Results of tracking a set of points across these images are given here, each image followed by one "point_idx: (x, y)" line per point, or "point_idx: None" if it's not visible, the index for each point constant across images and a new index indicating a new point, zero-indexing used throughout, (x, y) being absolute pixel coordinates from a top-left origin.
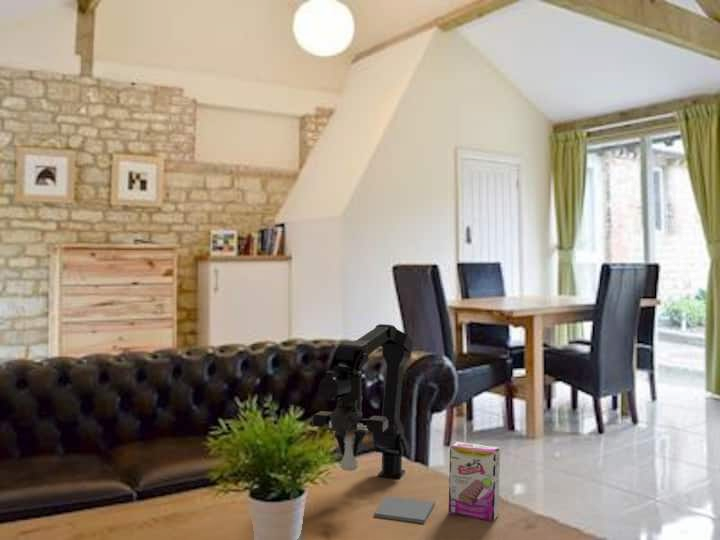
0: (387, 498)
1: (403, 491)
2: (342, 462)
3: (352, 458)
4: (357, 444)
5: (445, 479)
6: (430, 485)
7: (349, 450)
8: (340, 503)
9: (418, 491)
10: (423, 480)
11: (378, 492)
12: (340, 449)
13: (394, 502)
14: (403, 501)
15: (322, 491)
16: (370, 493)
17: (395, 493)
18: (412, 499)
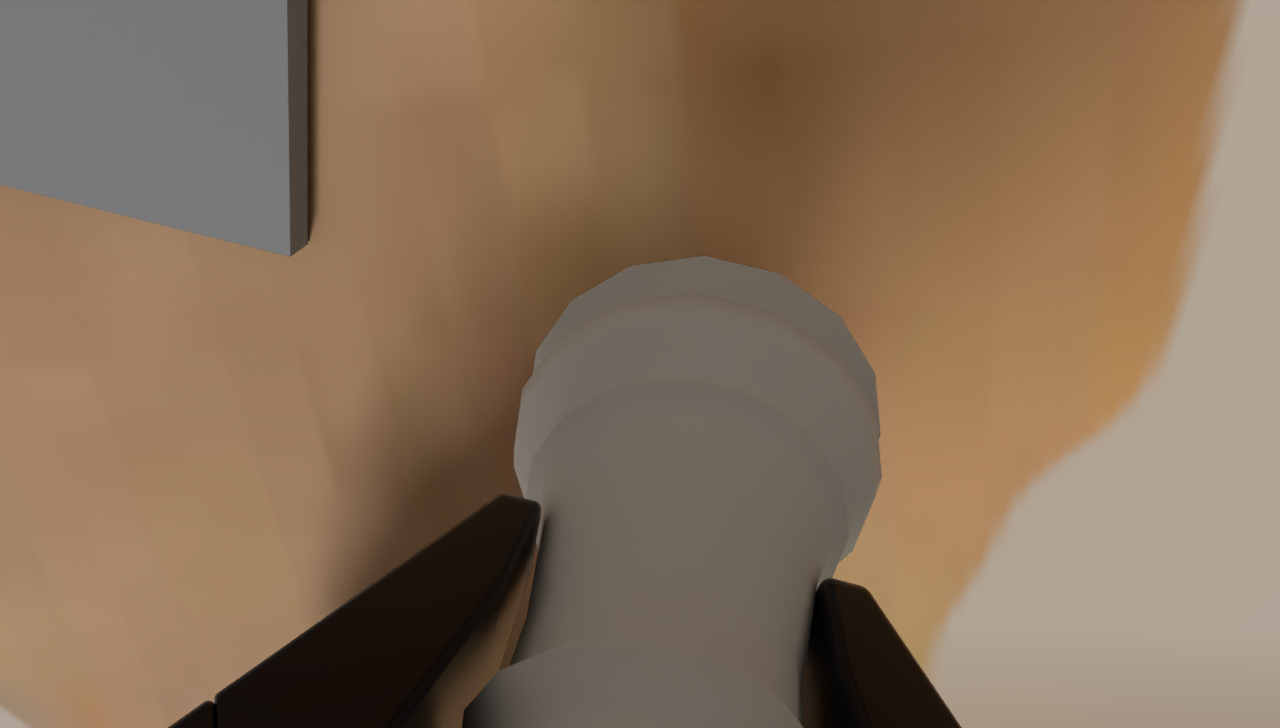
0: (270, 177)
1: (223, 452)
2: (842, 396)
3: (585, 449)
4: (236, 711)
5: (8, 689)
6: (61, 583)
7: (632, 597)
8: (828, 42)
9: (100, 458)
10: (150, 674)
11: (441, 416)
12: (941, 701)
13: (156, 52)
14: (76, 102)
15: (1057, 411)
16: (514, 386)
17: (278, 401)
18: (12, 174)
